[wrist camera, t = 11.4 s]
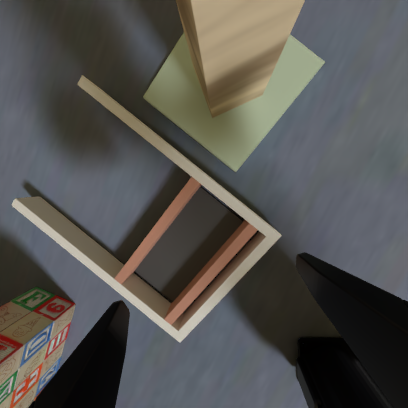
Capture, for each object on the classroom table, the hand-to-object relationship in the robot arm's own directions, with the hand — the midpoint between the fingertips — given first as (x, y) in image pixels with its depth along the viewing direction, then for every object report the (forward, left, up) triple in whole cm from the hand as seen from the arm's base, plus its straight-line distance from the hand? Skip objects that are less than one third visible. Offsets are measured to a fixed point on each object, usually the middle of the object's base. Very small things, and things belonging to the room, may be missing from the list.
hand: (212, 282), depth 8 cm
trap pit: (+4, +2, -10) cm, 11 cm away
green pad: (-2, -14, -10) cm, 18 cm away
